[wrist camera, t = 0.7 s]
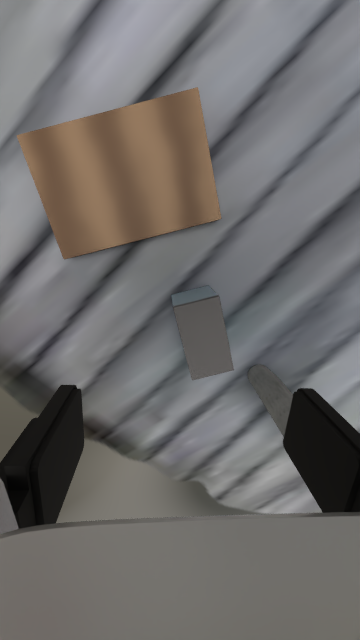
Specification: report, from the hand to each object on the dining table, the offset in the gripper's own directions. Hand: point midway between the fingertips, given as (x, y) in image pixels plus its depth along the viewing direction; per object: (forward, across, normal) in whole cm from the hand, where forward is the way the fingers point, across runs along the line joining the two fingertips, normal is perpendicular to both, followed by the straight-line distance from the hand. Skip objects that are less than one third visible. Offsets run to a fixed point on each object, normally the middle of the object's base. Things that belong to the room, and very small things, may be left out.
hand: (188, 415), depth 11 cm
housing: (+24, -4, +3) cm, 24 cm away
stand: (+23, +5, -13) cm, 27 cm away
